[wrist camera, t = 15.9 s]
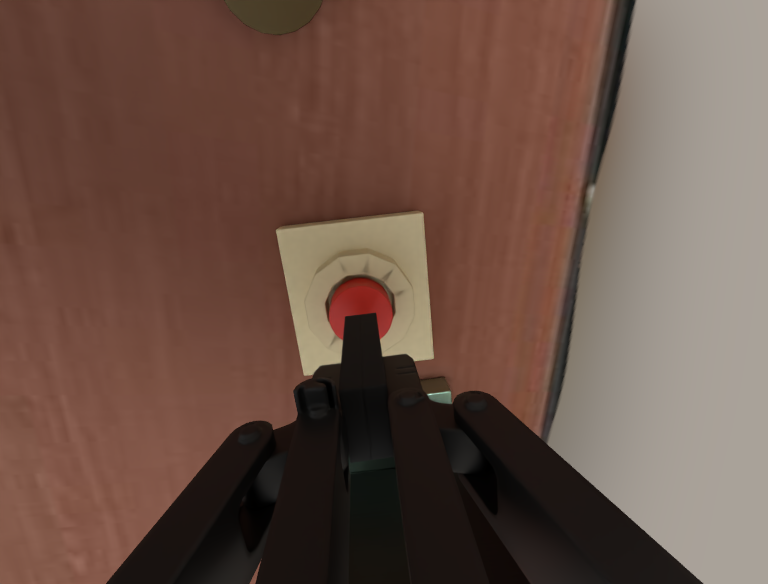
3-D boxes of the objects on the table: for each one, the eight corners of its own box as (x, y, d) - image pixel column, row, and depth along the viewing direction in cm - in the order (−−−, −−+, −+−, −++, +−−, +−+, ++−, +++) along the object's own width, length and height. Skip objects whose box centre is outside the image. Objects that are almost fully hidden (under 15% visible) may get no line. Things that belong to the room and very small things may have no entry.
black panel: (299, 502, 28) (273, 653, 19) (295, 478, 27) (266, 623, 18) (481, 482, 28) (538, 618, 20) (482, 459, 28) (541, 589, 19)
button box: (280, 226, 24) (268, 233, 20) (418, 210, 24) (429, 215, 21) (307, 364, 27) (300, 390, 23) (429, 348, 27) (439, 372, 24)
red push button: (326, 281, 22) (324, 290, 20) (387, 274, 22) (389, 282, 20) (335, 336, 23) (333, 350, 21) (392, 329, 23) (396, 341, 21)
